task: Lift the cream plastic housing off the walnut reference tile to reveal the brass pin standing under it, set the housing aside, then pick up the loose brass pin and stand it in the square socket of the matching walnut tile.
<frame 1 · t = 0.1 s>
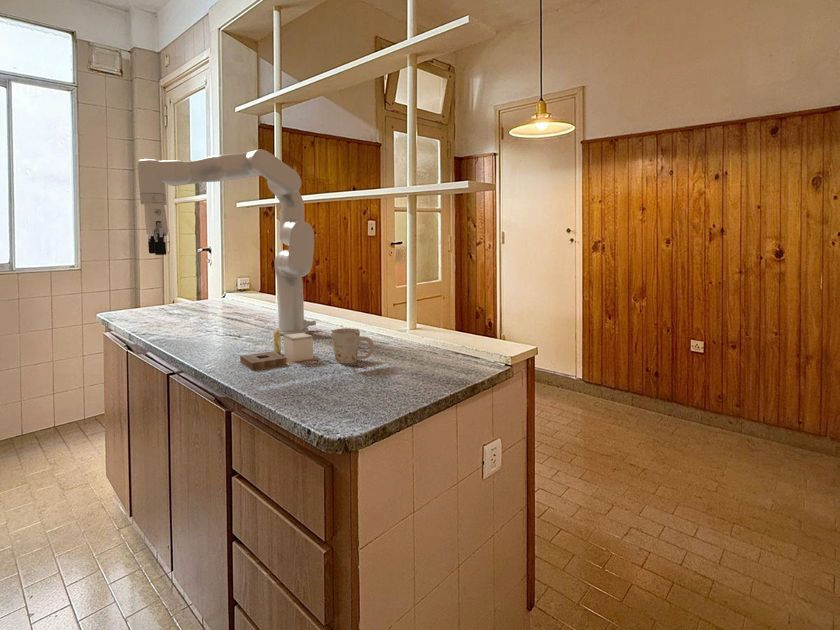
hand: (157, 254, 167), 31 cm above the worktop, fingers open, 9 cm apart
housing: (298, 358, 157), point 1 cm above the worktop, touching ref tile
socket tile: (263, 366, 150), on the worktop
mug: (353, 364, 155), on the worktop
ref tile: (298, 361, 157), on the worktop
brass pin: (277, 356, 162), on the worktop
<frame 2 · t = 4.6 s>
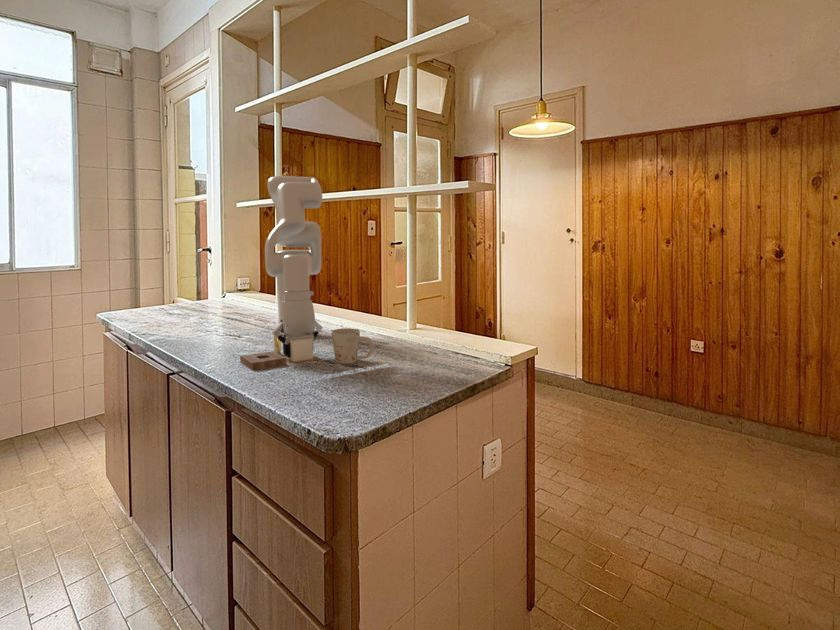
hand: (298, 354, 157), 2 cm above the worktop, fingers closed on housing, 6 cm apart
housing: (298, 358, 157), point 1 cm above the worktop, touching gripper, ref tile
everything else where it was.
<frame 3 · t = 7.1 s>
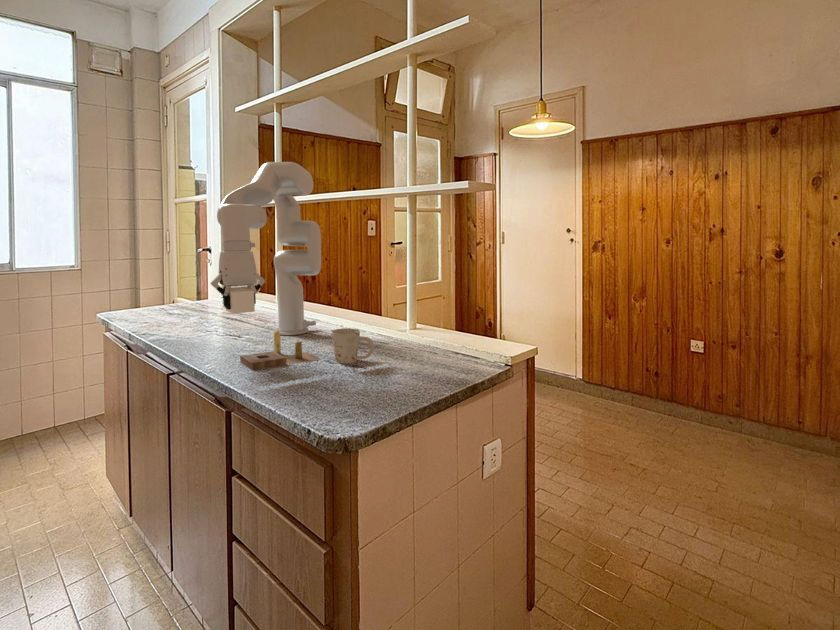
hand: (239, 307, 154), 17 cm above the worktop, fingers closed on housing, 6 cm apart
housing: (240, 311, 154), point 15 cm above the worktop, touching gripper
everything else where it was.
when the fingers open (3 cm above the worktop, at t = 9.8 s): housing drops 2 cm, on the worktop.
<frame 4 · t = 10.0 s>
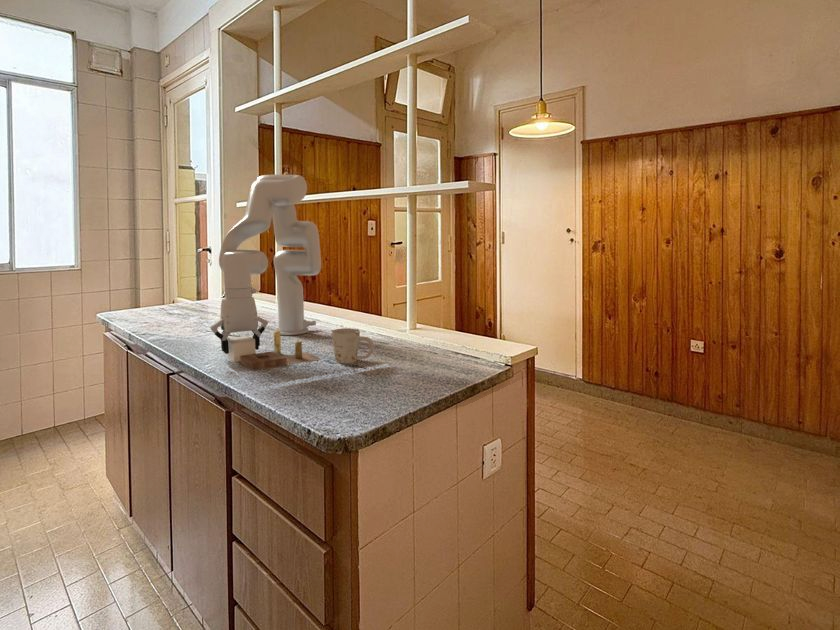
hand: (241, 350, 156), 3 cm above the worktop, fingers open, 8 cm apart
housing: (241, 361, 156), on the worktop
everything else where it was.
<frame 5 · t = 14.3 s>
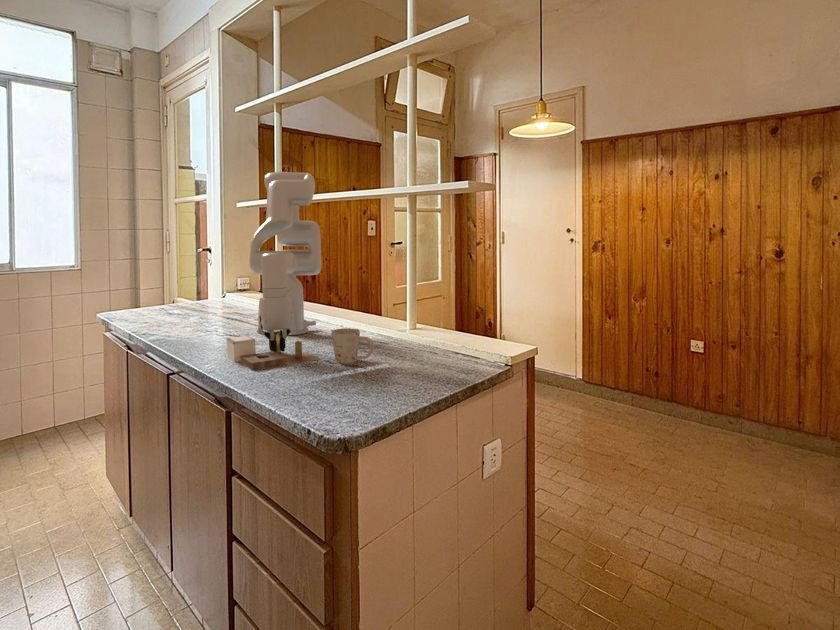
hand: (277, 351, 162), 2 cm above the worktop, fingers closed on brass pin, 2 cm apart
brass pin: (277, 356, 162), on the worktop, touching gripper
everything else where it was.
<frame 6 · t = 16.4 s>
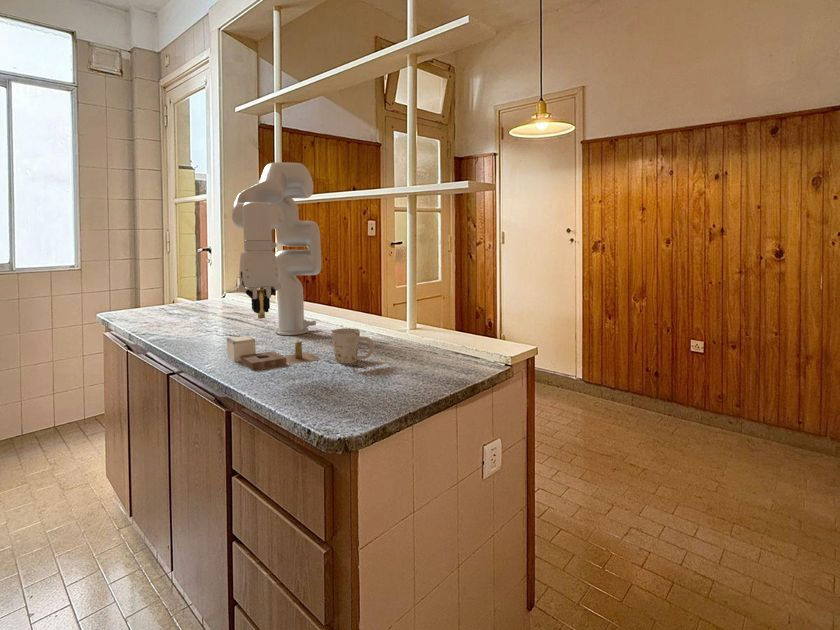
hand: (261, 311, 148), 16 cm above the worktop, fingers closed on brass pin
brass pin: (261, 317, 148), point 15 cm above the worktop, touching gripper
everything else where it was.
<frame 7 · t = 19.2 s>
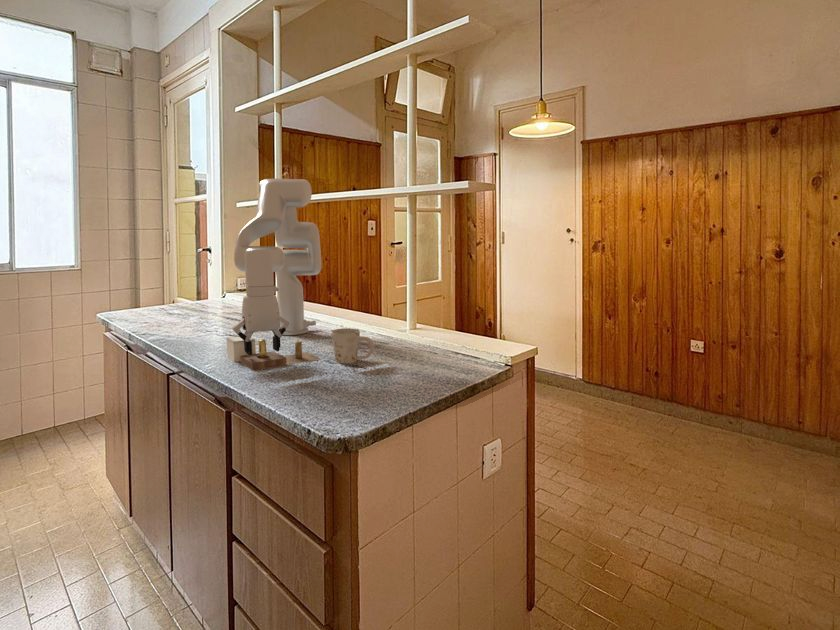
hand: (262, 351, 150), 4 cm above the worktop, fingers open, 7 cm apart
brass pin: (263, 366, 150), resting in socket tile
everything else where it was.
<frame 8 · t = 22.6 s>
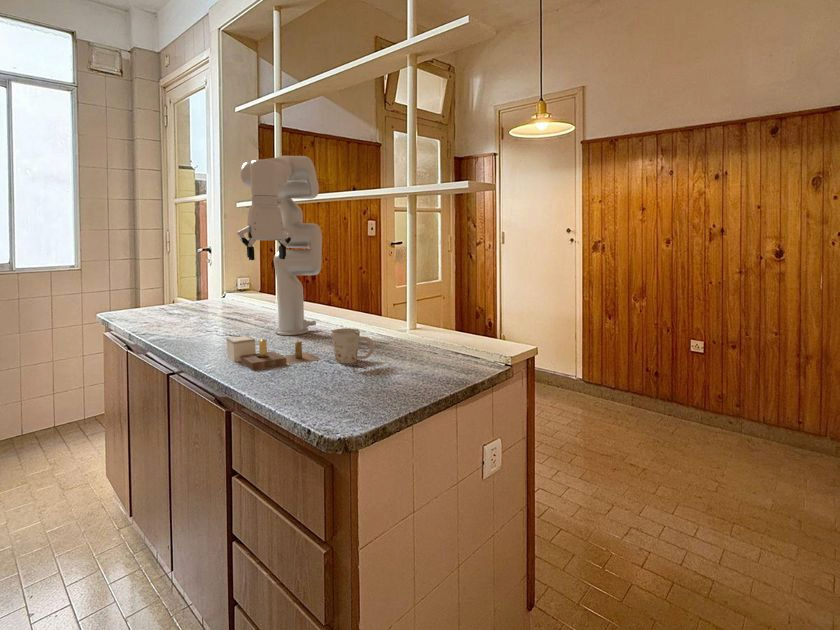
hand: (267, 259, 159), 30 cm above the worktop, fingers open, 9 cm apart
nothing on the worktop moved.
at the end: brass pin 0.1 cm off-centre on the socket tile, point 0.0 cm above the socket tile's base; brass pin tilted 0°; housing moved 17.2 cm from its start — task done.
